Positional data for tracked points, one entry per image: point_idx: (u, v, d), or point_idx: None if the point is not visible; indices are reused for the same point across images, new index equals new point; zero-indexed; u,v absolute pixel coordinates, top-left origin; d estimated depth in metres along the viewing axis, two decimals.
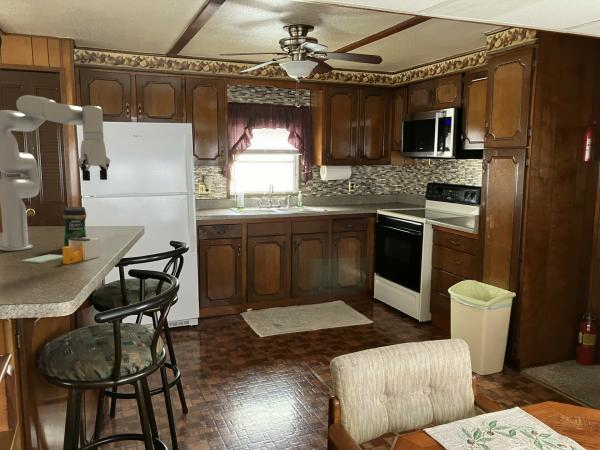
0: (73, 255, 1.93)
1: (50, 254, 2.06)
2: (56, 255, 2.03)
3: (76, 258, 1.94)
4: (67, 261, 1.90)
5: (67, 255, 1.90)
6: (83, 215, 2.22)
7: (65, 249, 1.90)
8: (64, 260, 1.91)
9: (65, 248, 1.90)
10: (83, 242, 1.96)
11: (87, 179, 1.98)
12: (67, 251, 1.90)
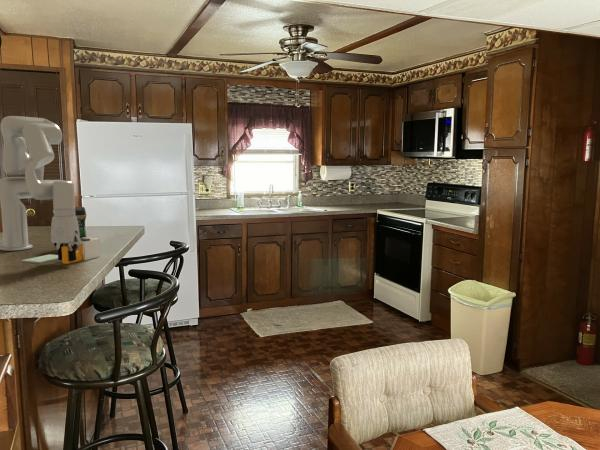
0: None
1: (50, 254, 2.06)
2: (56, 255, 2.03)
3: None
4: (66, 261, 1.91)
5: (66, 255, 1.90)
6: (83, 215, 2.22)
7: (64, 249, 1.90)
8: (63, 260, 1.91)
9: (64, 248, 1.90)
10: (83, 242, 1.96)
11: (74, 259, 1.93)
12: (66, 251, 1.90)
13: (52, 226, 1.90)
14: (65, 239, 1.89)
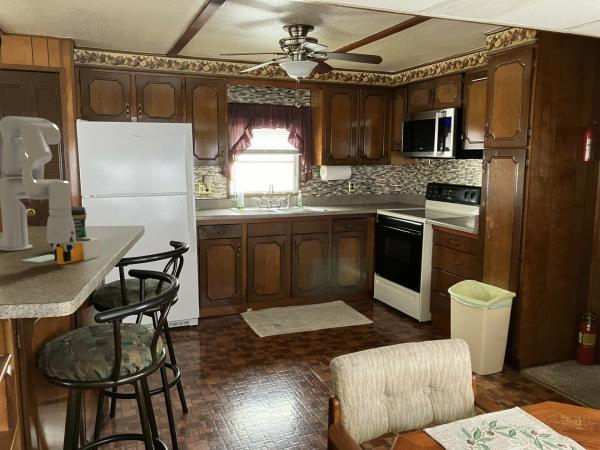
0: None
1: (50, 254, 2.06)
2: None
3: None
4: (61, 261, 1.89)
5: (61, 255, 1.89)
6: (83, 215, 2.22)
7: (59, 249, 1.89)
8: (58, 260, 1.90)
9: (59, 248, 1.89)
10: (83, 242, 1.96)
11: (69, 259, 1.91)
12: (61, 251, 1.89)
13: (48, 226, 1.89)
14: (61, 239, 1.87)
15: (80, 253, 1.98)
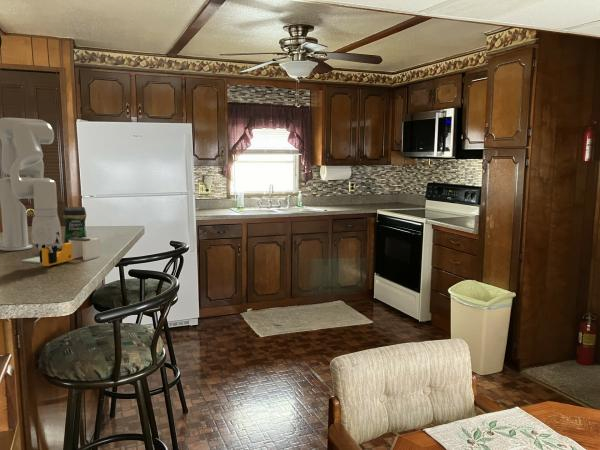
0: None
1: None
2: None
3: None
4: (46, 263, 1.83)
5: (46, 256, 1.83)
6: (83, 215, 2.22)
7: (44, 250, 1.83)
8: (43, 261, 1.84)
9: (44, 249, 1.83)
10: (83, 242, 1.96)
11: (55, 261, 1.86)
12: (46, 253, 1.83)
13: (33, 226, 1.83)
14: (46, 240, 1.81)
15: (67, 254, 1.92)
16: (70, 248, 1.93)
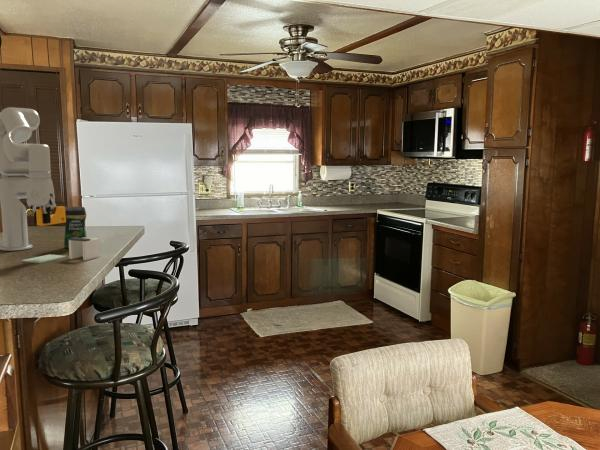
0: None
1: (50, 254, 2.06)
2: (56, 255, 2.03)
3: None
4: (40, 223, 1.94)
5: (40, 217, 1.94)
6: (83, 215, 2.22)
7: (39, 211, 1.94)
8: (38, 222, 1.95)
9: (38, 210, 1.94)
10: (83, 242, 1.96)
11: (49, 221, 1.96)
12: (40, 213, 1.94)
13: (28, 189, 1.93)
14: (40, 201, 1.92)
15: (60, 216, 2.02)
16: (63, 211, 2.04)
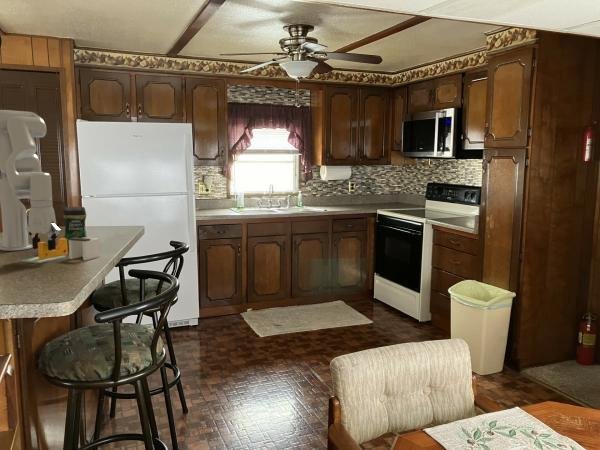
0: (48, 250, 1.98)
1: None
2: None
3: (51, 253, 1.99)
4: (42, 256, 1.96)
5: (42, 250, 1.95)
6: (83, 215, 2.22)
7: (40, 244, 1.95)
8: (39, 255, 1.96)
9: (40, 243, 1.95)
10: (83, 242, 1.96)
11: (54, 248, 1.97)
12: (41, 247, 1.95)
13: (29, 217, 1.95)
14: (42, 230, 1.93)
15: (62, 249, 2.04)
16: (65, 243, 2.05)
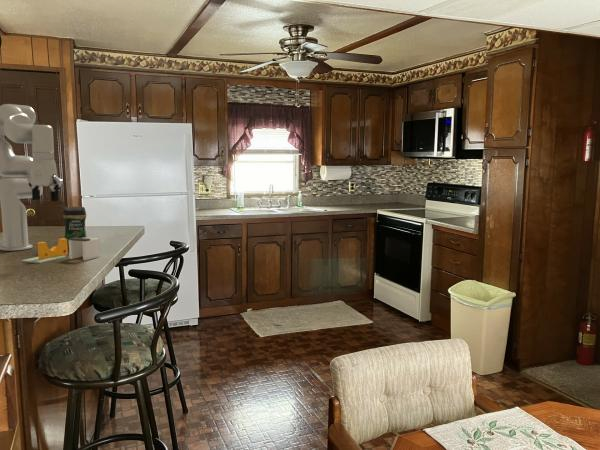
0: (48, 250, 1.98)
1: None
2: None
3: (51, 253, 1.99)
4: (41, 256, 1.96)
5: (41, 250, 1.95)
6: (83, 215, 2.22)
7: (40, 244, 1.95)
8: (39, 255, 1.96)
9: (40, 243, 1.95)
10: (83, 242, 1.96)
11: (57, 199, 1.97)
12: (41, 247, 1.95)
13: (31, 169, 1.95)
14: (43, 182, 1.94)
15: (62, 249, 2.04)
16: (65, 243, 2.05)
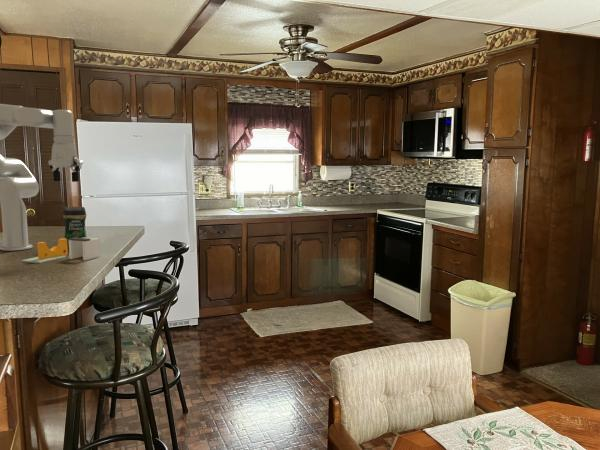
0: (48, 250, 1.97)
1: None
2: None
3: (51, 253, 1.99)
4: (41, 256, 1.95)
5: (41, 250, 1.95)
6: (83, 215, 2.22)
7: (39, 245, 1.95)
8: (39, 255, 1.96)
9: (39, 243, 1.95)
10: (83, 242, 1.96)
11: (77, 180, 2.09)
12: (41, 247, 1.95)
13: (52, 152, 2.08)
14: (64, 163, 2.06)
15: (62, 249, 2.03)
16: (65, 243, 2.05)
